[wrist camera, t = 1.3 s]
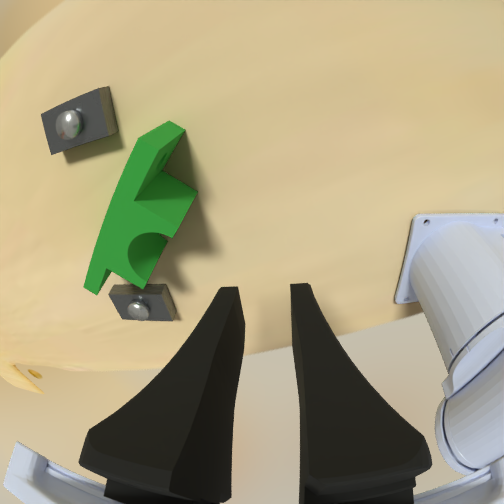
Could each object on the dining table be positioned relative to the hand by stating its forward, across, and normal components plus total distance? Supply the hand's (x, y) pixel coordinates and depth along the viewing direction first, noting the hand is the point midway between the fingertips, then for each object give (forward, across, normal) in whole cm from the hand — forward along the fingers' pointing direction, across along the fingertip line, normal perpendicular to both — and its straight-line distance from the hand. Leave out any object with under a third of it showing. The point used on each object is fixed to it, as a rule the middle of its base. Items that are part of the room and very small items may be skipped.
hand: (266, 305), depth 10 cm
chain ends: (+8, +11, 0) cm, 14 cm away
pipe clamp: (+9, +8, 0) cm, 12 cm away
